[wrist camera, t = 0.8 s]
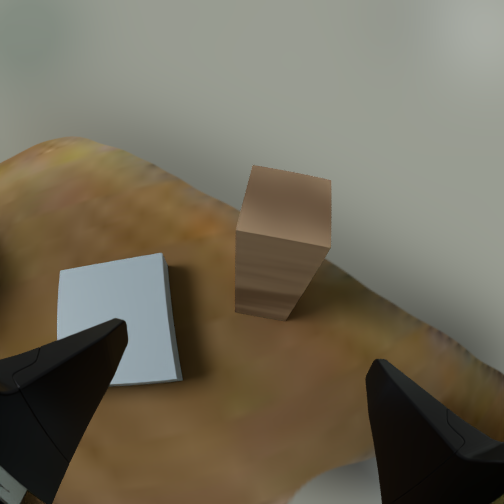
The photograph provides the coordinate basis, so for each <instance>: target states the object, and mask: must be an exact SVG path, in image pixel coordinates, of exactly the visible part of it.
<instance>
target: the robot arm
mask: <svg viewBox="0 0 504 504" xmlns="http://www.w3.org/2000/svg"><path fill="white" fill-rule="evenodd" d="M127 344H128V331H127V324H126V321H125V320H122V319H118V318H114V319H111V320H109V321H106V322H103V323H101V324H98V325H96V326H93V327H91V328H88V329H85V330H83V331H80V332H78V333H75V334H72V335H70V336H67V337H65V338H62V339H59V340H57V341H54V342H52V343H49V344H46V345H44V346H41V347H38V348H36V349H33V350H30V351H27V352H25V353H22V354H19V355H15V356H12V357H8V358H5V359H1V360H0V504H26V503H25V501H24V497H25V495H26V493H27V491H29V492H30V493H31V494H33V495H34V496H36V497H37V498H38V499H40V500H41V501H43V502H44V503H46V504H52V503H53V500H54V498H55V495H56V493H57V491H58V488H59V486H60V484H61V481H62V479H63V477H64V475H65V472H66V470H67V468H68V466H69V463H70V461H71V459H72V457H73V455H74V453H75V451H76V449H77V447H78V444H79V442H80V440H81V438H82V436H83V434H84V432H85V430H86V428H87V426H88V424H89V422H90V420H91V419H92V417H93V415H94V413H95V411H96V409H97V407H98V405H99V403H100V401H101V400H102V398H103V396H104V394H105V392H106V390H107V389H108V387H109V385H110V383H111V381H112V379H113V377H114V375H115V373H116V371H117V368H118V366H119V363H120V361H121V359H122V356H123V354H124V352H125V349H126V347H127ZM366 391H367V402H368V413H369V420H370V425H371V430H372V436H373V442H374V448H375V454H376V460H377V467H378V474H379V482H380V489H381V497H382V498H381V499H382V504H504V442H499V441H495V440H493V439H491V438H490V437H488V436H487V435H485V434H483V433H482V432H480V431H479V430H477V429H476V428H474V427H473V426H471V425H470V424H468V423H467V422H465V421H464V420H462V419H461V418H460V417H458V416H457V415H456V414H454V413H453V412H452V411H450V410H449V409H447V408H446V407H445V406H444V405H443V404H442V403H440V402H439V401H438V400H436V399H435V398H434V397H433V396H431V395H430V394H429V393H428V392H426V391H425V390H424V389H422V388H421V387H420V386H419V385H417V384H416V383H415V382H414V381H412V380H411V379H410V378H408V377H407V376H406V375H405V374H403V373H402V372H401V371H400V370H398V369H397V368H396V367H395V366H393V365H392V364H391V363H389V362H388V361H387V360H385V359H375V360H374V361H373V363H372V365H371V367H370V369H369V371H368V373H367V375H366Z"/></svg>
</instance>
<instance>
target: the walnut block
mask: <svg viewBox="0 0 504 504" xmlns="http://www.w3.org/2000/svg"><path fill="white" fill-rule="evenodd" d="M330 248H331V180H327V179H323V178H318V177H313V176H309V175H304V174H299V173H294V172H289V171H283V170H278V169H272V168H267V167H260V166H254V165H253V166H252V170H251V174H250V178H249V181H248V185H247V189H246V193H245V197H244V200H243V204H242V209H241V212H240V216H239V220H238V224H237V228H236V258H235V312H237V313H242V314H247V315H253V316H258V317H264V318H269V319H275V320H281V321H285V320H286V319H287V317H288V316H289V314H290V313H291V311H292V310H293V308H294V307H295V305H296V304H297V302H298V300H299V299H300V297H301V296H302V294H303V293H304V291H305V289H306V288H307V286H308V285H309V283H310V281H311V280H312V278H313V276H314V275H315V273H316V272H317V270H318V268H319V267H320V265H321V263H322V262H323V260H324V258H325V257H326V255H327V253H328V252H329V250H330Z"/></svg>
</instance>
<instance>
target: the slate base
mask: <svg viewBox="0 0 504 504" xmlns="http://www.w3.org/2000/svg"><path fill="white" fill-rule="evenodd" d="M114 318H118V319H122V320H125V321H126V324H127V331H128V344H127V347H126V349H125V352H124V354H123V356H122V359H121V361H120V363H119V366H118V368H117V371H116V373H115V375H114V377H113V379H112V381H111V383H110V385H109V386H128V385H142V384H154V383H165V382H174V381H182V380H183V379H182V373H181V367H180V361H179V355H178V349H177V342H176V335H175V328H174V320H173V313H172V304H171V295H170V285H169V275H168V265H167V263H166V261H165V258H164V256H163V254H162V253H158V254H152V255H146V256H140V257H134V258H129V259H123V260H117V261H111V262H106V263H100V264H95V265H89V266H83V267H78V268H73V269H67V270H62V271H60V280H59V293H58V313H57V340H59V339H62V338H65V337H67V336H70V335H72V334H75V333H78V332H80V331H83V330H85V329H88V328H91V327H93V326H96V325H98V324H101V323H103V322H106V321H109V320H111V319H114Z"/></svg>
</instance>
